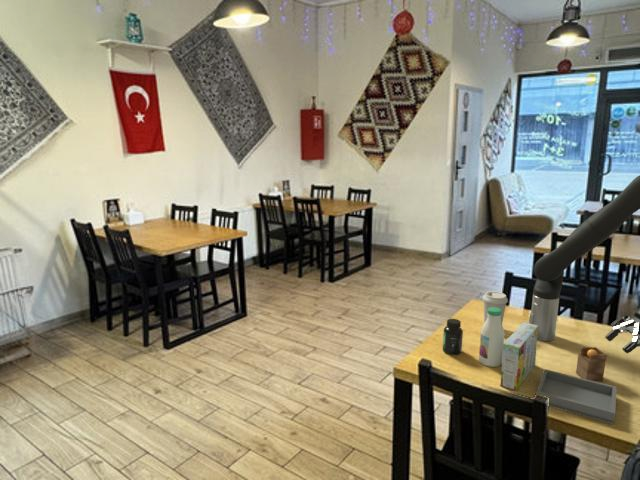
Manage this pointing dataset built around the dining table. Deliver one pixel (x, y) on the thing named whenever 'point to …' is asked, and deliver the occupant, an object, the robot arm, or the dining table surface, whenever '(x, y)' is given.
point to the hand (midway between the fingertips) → (615, 345)
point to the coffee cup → (494, 302)
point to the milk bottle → (492, 339)
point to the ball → (591, 352)
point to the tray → (579, 395)
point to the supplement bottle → (452, 337)
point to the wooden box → (591, 364)
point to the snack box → (519, 355)
